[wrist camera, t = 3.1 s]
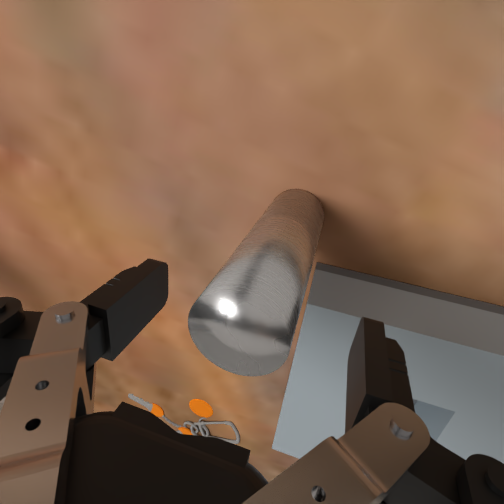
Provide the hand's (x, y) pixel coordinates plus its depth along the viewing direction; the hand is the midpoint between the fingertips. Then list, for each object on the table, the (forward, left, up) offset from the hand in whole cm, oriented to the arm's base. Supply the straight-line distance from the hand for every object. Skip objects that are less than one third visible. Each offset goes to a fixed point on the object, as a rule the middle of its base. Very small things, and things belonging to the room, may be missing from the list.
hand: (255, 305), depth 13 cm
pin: (0, 0, -10) cm, 10 cm away
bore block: (+10, +9, -10) cm, 16 cm away
